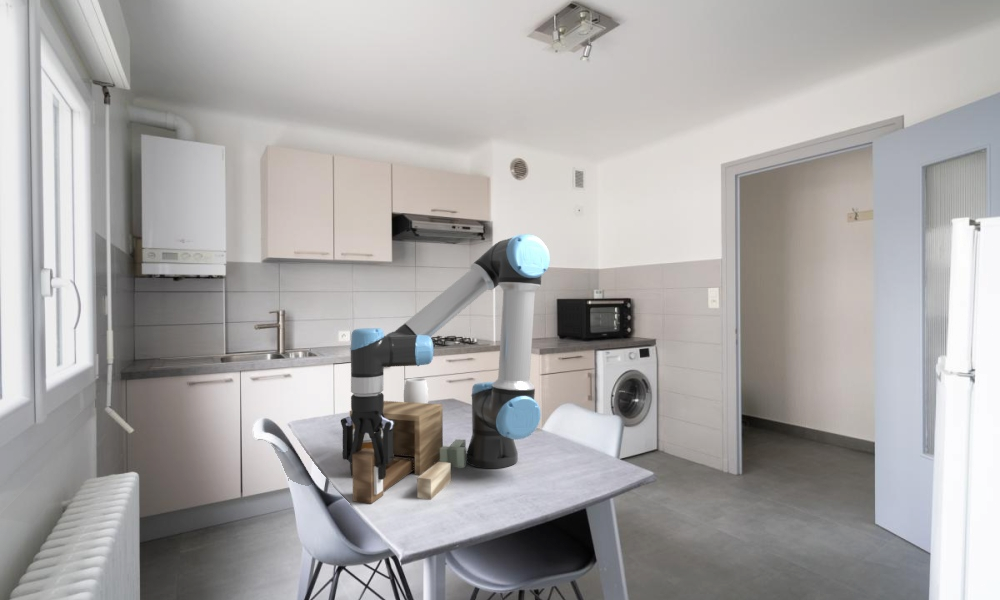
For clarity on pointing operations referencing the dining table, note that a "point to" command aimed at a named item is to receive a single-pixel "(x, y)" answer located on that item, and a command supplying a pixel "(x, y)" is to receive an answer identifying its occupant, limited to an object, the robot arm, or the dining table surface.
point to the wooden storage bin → (416, 431)
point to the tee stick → (454, 453)
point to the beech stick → (434, 480)
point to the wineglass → (416, 390)
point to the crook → (365, 474)
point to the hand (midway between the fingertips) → (367, 490)
